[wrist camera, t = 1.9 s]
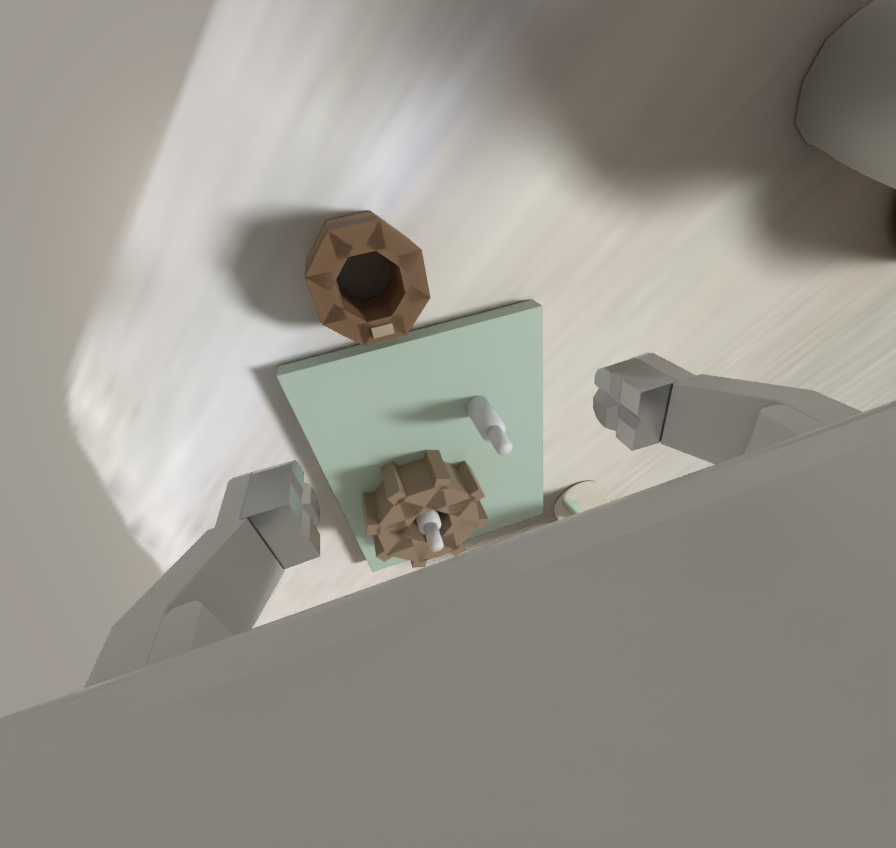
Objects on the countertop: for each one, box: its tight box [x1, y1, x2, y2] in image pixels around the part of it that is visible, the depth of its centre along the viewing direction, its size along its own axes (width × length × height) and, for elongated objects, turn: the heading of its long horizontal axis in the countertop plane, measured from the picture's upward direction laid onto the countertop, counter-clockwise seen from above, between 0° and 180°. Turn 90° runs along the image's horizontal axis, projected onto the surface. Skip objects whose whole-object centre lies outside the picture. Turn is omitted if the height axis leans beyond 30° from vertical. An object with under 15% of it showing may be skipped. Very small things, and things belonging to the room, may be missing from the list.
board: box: [277, 300, 543, 572], centre depth 30 cm, size 22×18×7 cm
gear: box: [305, 211, 430, 346], centre depth 22 cm, size 6×6×4 cm
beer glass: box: [554, 481, 611, 520], centre depth 36 cm, size 7×7×15 cm
